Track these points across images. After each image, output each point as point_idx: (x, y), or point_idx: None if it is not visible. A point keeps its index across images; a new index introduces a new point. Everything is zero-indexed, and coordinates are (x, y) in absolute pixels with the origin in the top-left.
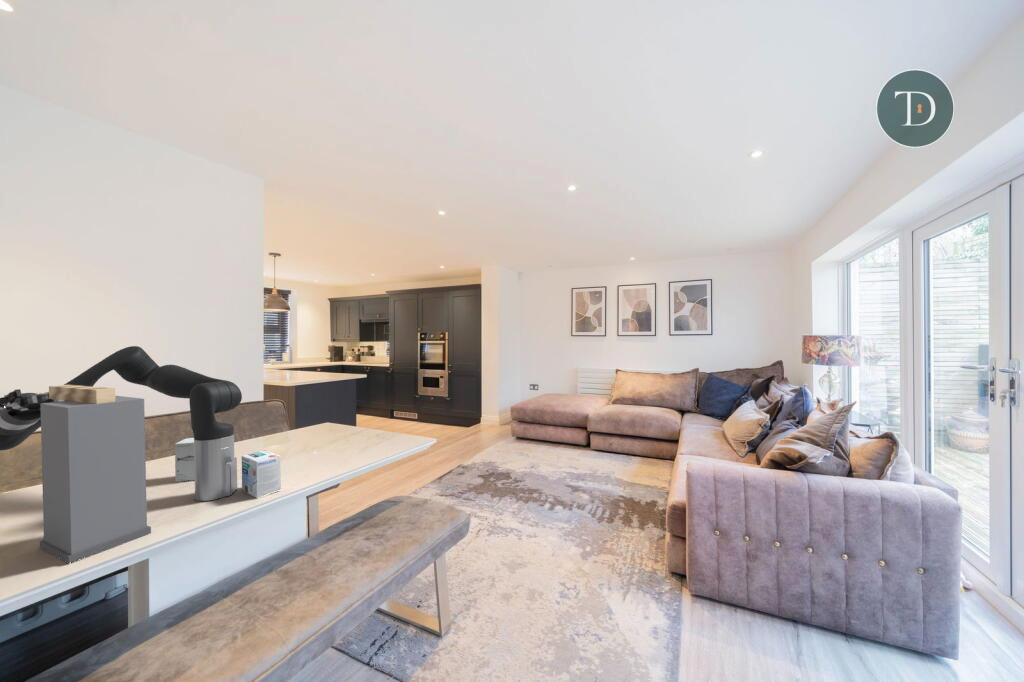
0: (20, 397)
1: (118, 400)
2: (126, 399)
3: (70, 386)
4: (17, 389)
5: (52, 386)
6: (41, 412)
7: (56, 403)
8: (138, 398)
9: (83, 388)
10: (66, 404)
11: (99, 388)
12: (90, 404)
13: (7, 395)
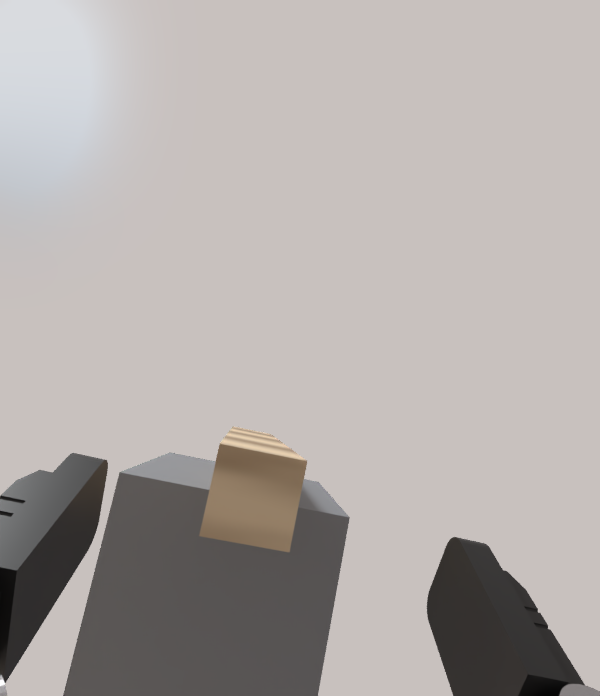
0: (434, 611)
1: (210, 464)
2: (191, 460)
3: (260, 442)
4: (471, 541)
5: (300, 456)
6: (341, 553)
7: (315, 501)
8: (169, 455)
9: (269, 437)
10: (305, 490)
11: (250, 431)
12: None
13: (559, 655)
